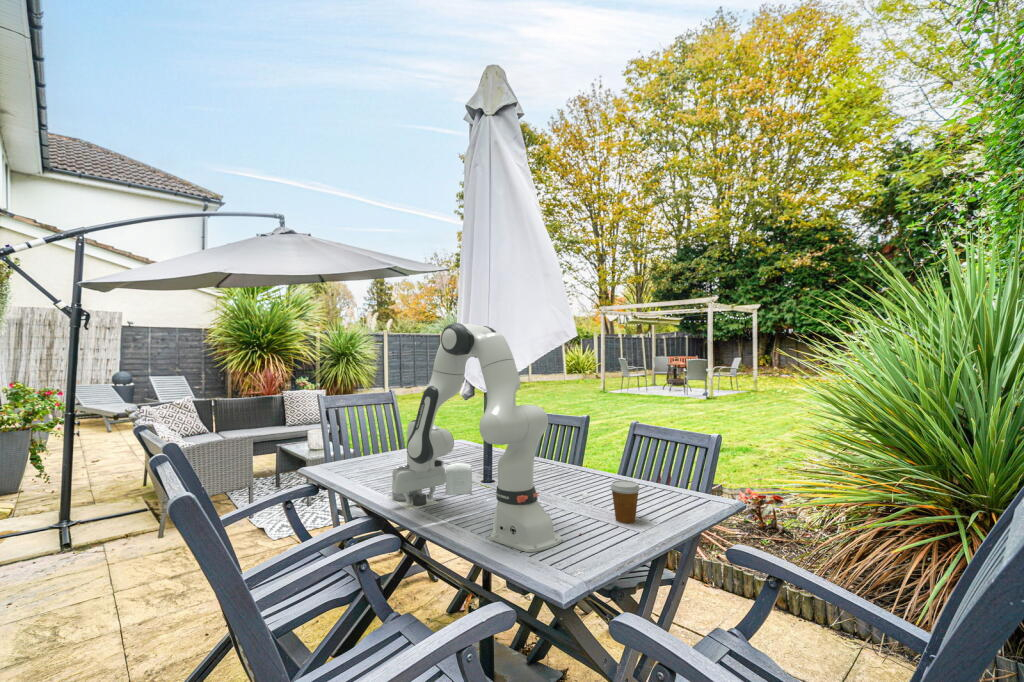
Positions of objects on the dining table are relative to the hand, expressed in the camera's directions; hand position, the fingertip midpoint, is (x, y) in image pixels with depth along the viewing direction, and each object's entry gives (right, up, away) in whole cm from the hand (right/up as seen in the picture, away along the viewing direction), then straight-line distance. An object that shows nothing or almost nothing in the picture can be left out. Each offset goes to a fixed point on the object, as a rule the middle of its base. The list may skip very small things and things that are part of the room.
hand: (419, 501), depth 176 cm
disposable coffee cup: (+71, -1, -16) cm, 73 cm away
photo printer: (+13, -2, +14) cm, 19 cm away
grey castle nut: (-6, -1, +8) cm, 10 cm away
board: (-4, -2, +5) cm, 6 cm away
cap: (0, -1, 0) cm, 1 cm away
